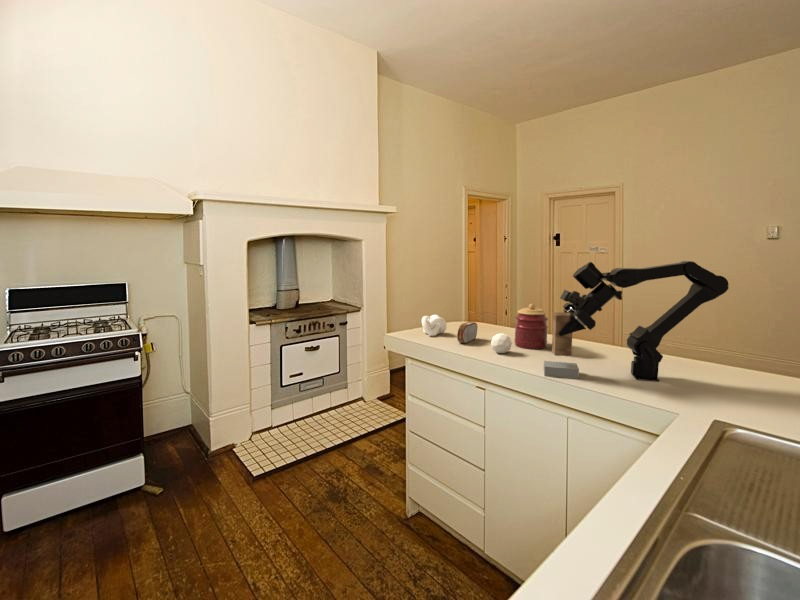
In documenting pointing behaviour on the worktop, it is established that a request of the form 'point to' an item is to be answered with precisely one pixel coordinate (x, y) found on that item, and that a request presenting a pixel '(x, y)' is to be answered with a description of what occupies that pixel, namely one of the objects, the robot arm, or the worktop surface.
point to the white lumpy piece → (433, 325)
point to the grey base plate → (561, 369)
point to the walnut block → (561, 343)
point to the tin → (467, 332)
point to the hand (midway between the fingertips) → (557, 333)
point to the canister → (531, 328)
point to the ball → (501, 343)
